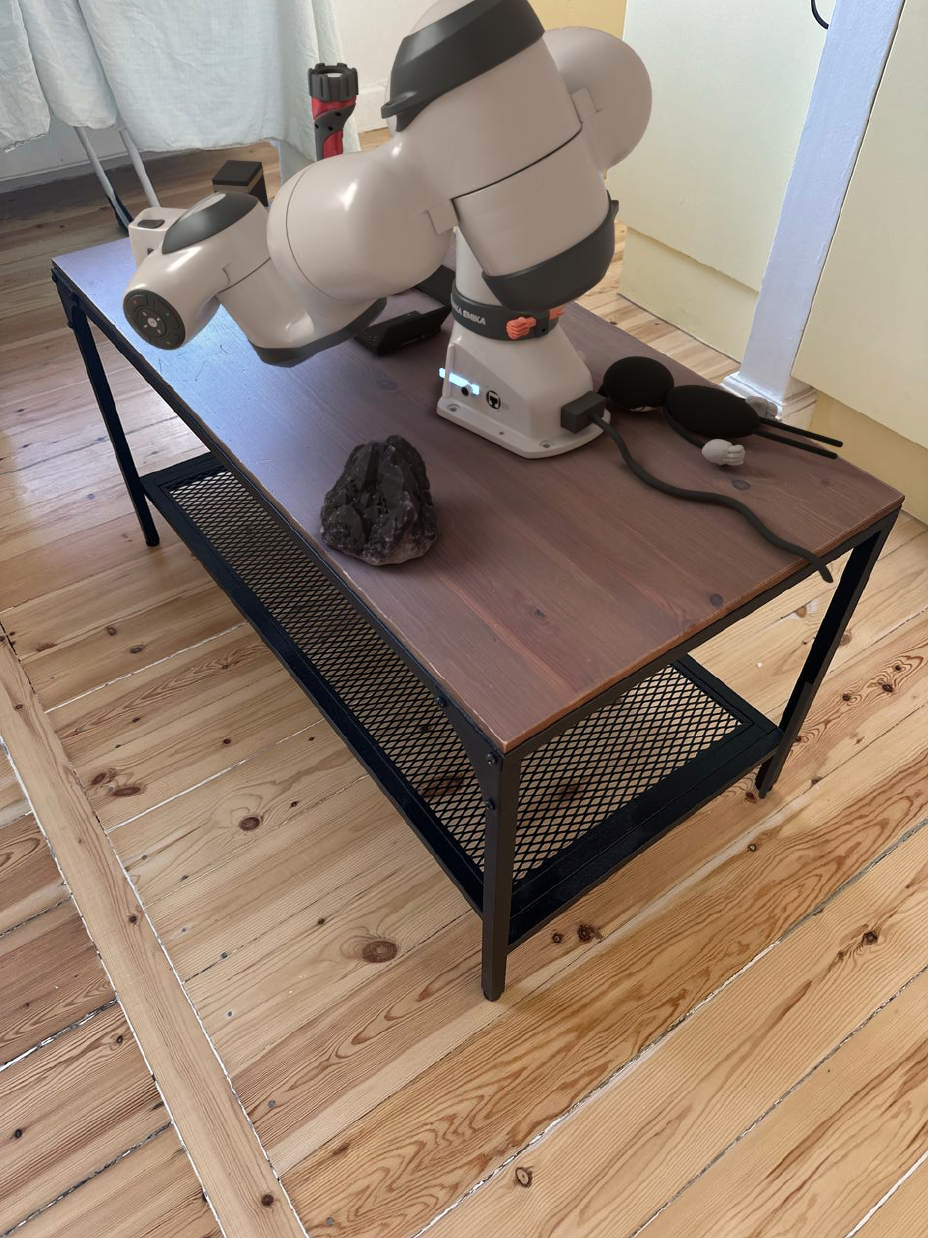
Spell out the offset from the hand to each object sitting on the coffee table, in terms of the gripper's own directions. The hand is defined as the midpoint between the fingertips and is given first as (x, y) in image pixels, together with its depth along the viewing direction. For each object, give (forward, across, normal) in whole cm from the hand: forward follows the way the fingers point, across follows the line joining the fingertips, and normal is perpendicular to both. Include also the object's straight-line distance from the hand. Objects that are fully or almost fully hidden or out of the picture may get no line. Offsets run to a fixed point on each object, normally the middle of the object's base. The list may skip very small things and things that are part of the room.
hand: (242, 210), depth 116 cm
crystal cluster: (-38, -24, +18) cm, 49 cm away
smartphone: (+19, -22, +17) cm, 34 cm away
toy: (-21, -74, +14) cm, 78 cm away
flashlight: (+40, -2, +17) cm, 43 cm away
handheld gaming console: (+2, -20, +17) cm, 26 cm away
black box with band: (+1, 0, +5) cm, 5 cm away
